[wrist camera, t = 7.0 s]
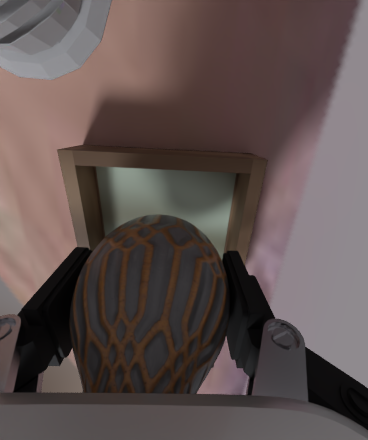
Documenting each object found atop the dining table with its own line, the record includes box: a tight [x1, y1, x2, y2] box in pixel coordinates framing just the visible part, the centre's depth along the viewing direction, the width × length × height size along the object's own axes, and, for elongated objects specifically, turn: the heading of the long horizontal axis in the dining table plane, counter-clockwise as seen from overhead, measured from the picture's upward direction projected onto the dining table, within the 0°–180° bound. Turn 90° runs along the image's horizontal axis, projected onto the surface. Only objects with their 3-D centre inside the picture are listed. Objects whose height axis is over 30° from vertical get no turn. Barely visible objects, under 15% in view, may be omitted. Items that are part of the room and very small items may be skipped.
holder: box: [57, 145, 268, 265], centre depth 15 cm, size 12×12×3 cm
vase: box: [69, 214, 230, 394], centre depth 9 cm, size 7×7×9 cm
